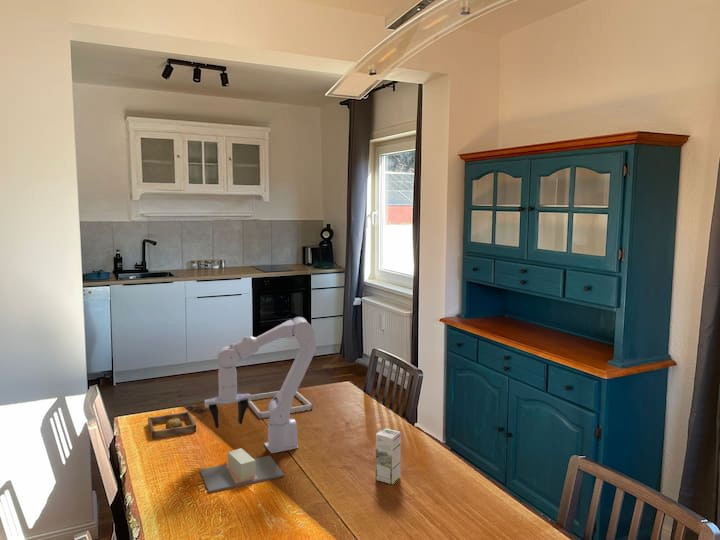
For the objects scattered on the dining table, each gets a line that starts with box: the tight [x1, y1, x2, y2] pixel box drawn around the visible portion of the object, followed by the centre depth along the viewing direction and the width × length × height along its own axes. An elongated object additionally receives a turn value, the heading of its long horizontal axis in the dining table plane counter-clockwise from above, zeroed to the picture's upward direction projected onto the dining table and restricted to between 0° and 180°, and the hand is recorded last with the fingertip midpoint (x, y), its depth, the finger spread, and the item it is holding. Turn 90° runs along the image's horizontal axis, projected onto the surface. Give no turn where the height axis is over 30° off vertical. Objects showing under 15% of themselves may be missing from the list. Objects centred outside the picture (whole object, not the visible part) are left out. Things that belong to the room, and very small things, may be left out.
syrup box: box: [374, 427, 402, 485], centre depth 160 cm, size 6×6×14 cm
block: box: [227, 447, 256, 481], centre depth 163 cm, size 10×4×5 cm, turn 36°
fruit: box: [165, 418, 184, 429], centre depth 196 cm, size 8×8×4 cm
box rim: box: [248, 390, 314, 419], centre depth 221 cm, size 22×22×2 cm
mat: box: [199, 455, 285, 494], centre depth 164 cm, size 22×14×1 cm, turn 117°
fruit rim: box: [147, 411, 197, 440], centre depth 197 cm, size 15×15×2 cm
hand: (228, 424), depth 177 cm, fingers open, 7 cm apart
